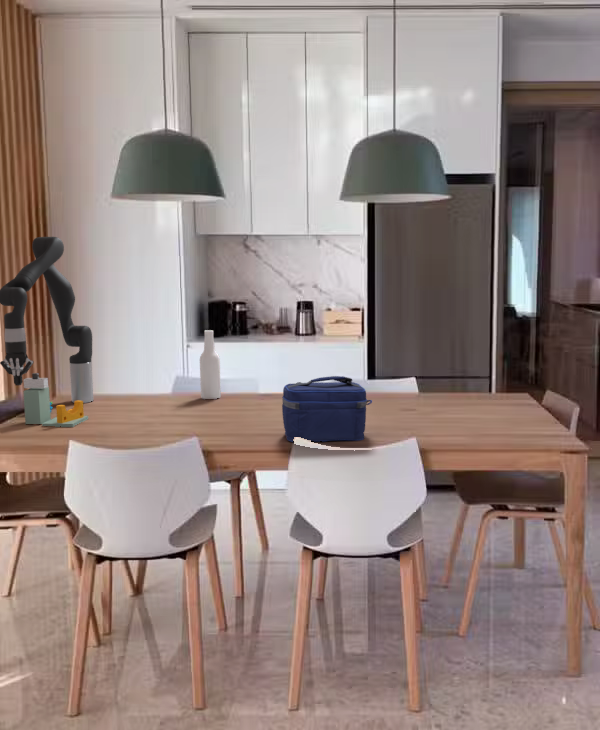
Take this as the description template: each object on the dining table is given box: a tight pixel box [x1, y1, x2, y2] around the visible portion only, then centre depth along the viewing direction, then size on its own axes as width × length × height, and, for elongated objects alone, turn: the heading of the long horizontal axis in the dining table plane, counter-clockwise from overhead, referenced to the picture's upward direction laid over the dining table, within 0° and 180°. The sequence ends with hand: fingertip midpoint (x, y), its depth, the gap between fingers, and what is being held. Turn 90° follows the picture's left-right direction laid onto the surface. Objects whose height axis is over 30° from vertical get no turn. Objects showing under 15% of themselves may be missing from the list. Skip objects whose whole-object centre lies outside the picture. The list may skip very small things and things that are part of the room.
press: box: [23, 386, 89, 428], centre depth 305 cm, size 15×20×13 cm
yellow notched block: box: [55, 400, 85, 423], centre depth 305 cm, size 12×4×6 cm, turn 155°
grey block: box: [23, 372, 49, 389], centre depth 305 cm, size 4×8×5 cm, turn 83°
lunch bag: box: [281, 375, 373, 443], centre depth 276 cm, size 31×21×20 cm
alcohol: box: [199, 329, 222, 400], centre depth 351 cm, size 9×9×30 cm
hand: (18, 385), depth 306 cm, fingers closed
